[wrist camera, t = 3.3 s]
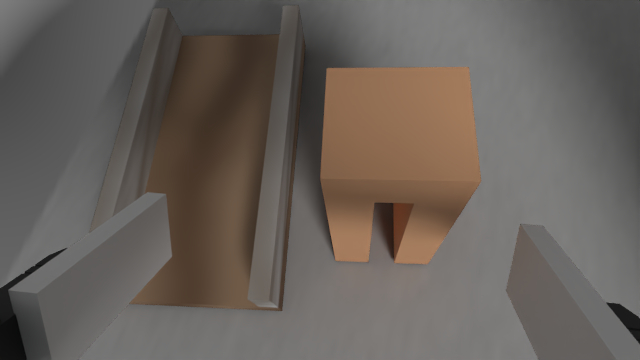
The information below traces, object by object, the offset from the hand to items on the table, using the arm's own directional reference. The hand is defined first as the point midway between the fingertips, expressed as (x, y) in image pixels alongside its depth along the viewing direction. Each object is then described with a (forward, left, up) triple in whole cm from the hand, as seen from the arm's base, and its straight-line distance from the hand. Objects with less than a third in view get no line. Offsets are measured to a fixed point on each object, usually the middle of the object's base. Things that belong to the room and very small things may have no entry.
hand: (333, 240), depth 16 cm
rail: (+8, -7, -8) cm, 13 cm away
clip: (-2, -3, -8) cm, 9 cm away
